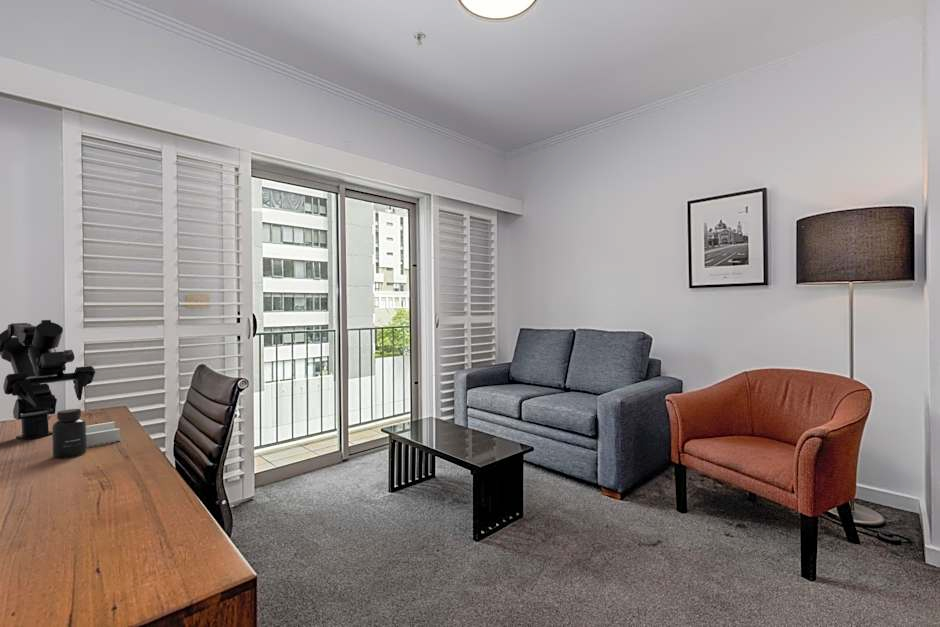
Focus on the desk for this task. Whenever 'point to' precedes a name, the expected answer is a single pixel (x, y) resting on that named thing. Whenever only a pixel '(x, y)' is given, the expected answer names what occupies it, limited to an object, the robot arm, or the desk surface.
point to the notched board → (101, 434)
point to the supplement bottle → (69, 434)
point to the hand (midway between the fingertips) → (59, 402)
